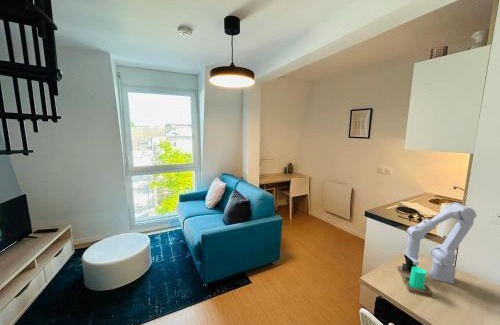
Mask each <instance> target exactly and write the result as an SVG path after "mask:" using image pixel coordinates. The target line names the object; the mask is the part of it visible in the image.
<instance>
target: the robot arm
mask: <svg viewBox="0 0 500 325" xmlns="http://www.w3.org/2000/svg"><path fill="white" fill-rule="evenodd" d="M477 216H478V214H476V211H475V210H474V209H473V208H470V207H468V206H467V205H463V204H462V203H460V202H456V201H455V202H451V203H450V204H448V205H446V207H445V209H443V210H441V212H439V213H438V214H437V215H435V216H433V217H432V218H430V219H423V220H421V222H419V223H417V224H416V225H414V226H412V225H411V226H409V227H408V228H407V229H406V234H407V241H406V247H405V248H404V251H403V253H402V254H403V256H404V257H403V258H404V260H405V264H408V270H410V271H411V270H412V267H413V266H414V267H415V266H419V264H420V262H419V252H420V246H421V245H420V244H421V241H422V240H423V239H424V237H425V236H426V235H427V234H428V233H429V232H431V231H434V230H435V229H436V228H437V227H436V226H438V225H439V224H441V223H443V222H445V221H447V220H450V219H456V223H455V225H454V226H453V228H452V229H451V231H449V233H448V235H447V237H446V238H445V240H444V241H443V242H442V244H437V245H436V246H435V247H433V248H432V249H431V251H430V255H431V256H432V261H431V268H430V269H427V271H426V272H428V274H429V275H430V276H431V279H433V280H435V281H440V282H445V283H449V284H455V282H454V281H455V276H456V268H455V266H454V264H455V260H456V258H457V255H456V252H455V251H456V249H457V248H458V246H460V244H461V242H463V240H464V238H465V237H466V236H467V234H468V233H469V231H470V230H471V228H472V227H473V226H474V221H475V219H476V217H477Z"/></svg>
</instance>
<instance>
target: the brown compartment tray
mask: <svg viewBox="0 0 500 325" xmlns="http://www.w3.org/2000/svg"><path fill="white" fill-rule="evenodd" d="M396 267H397V268H396V269H397V270H398V272H399V274H400V276H401V278H402V281H403V283H404V285H405V287H406V289H407V291H408V293H412V294H413V293H414V294H416V295H422V296H426V297H431V298H433V296H434V294H433V293H432V291H431V289H430V287H429V286H428V284H427V283H426V282H425V283H424V289H423V290H421V289H417V288H413V287H410V286H409V281H410V276H411V271H410V270H408V264H406V263H403V262H402V264H401V265H397V266H396ZM415 267H418V265H416V266H415Z"/></svg>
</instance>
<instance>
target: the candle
mask: <svg viewBox="0 0 500 325" xmlns="http://www.w3.org/2000/svg"><path fill="white" fill-rule="evenodd" d="M426 277H427V271H426V270H425V269H423V268H421V267H419V266H417V267H414V266H413V267H412V270H411V276H410V280H409V281H408V284H409V286H410V287H413V288H417V289H421V290H425V287H424V283H426Z"/></svg>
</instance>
